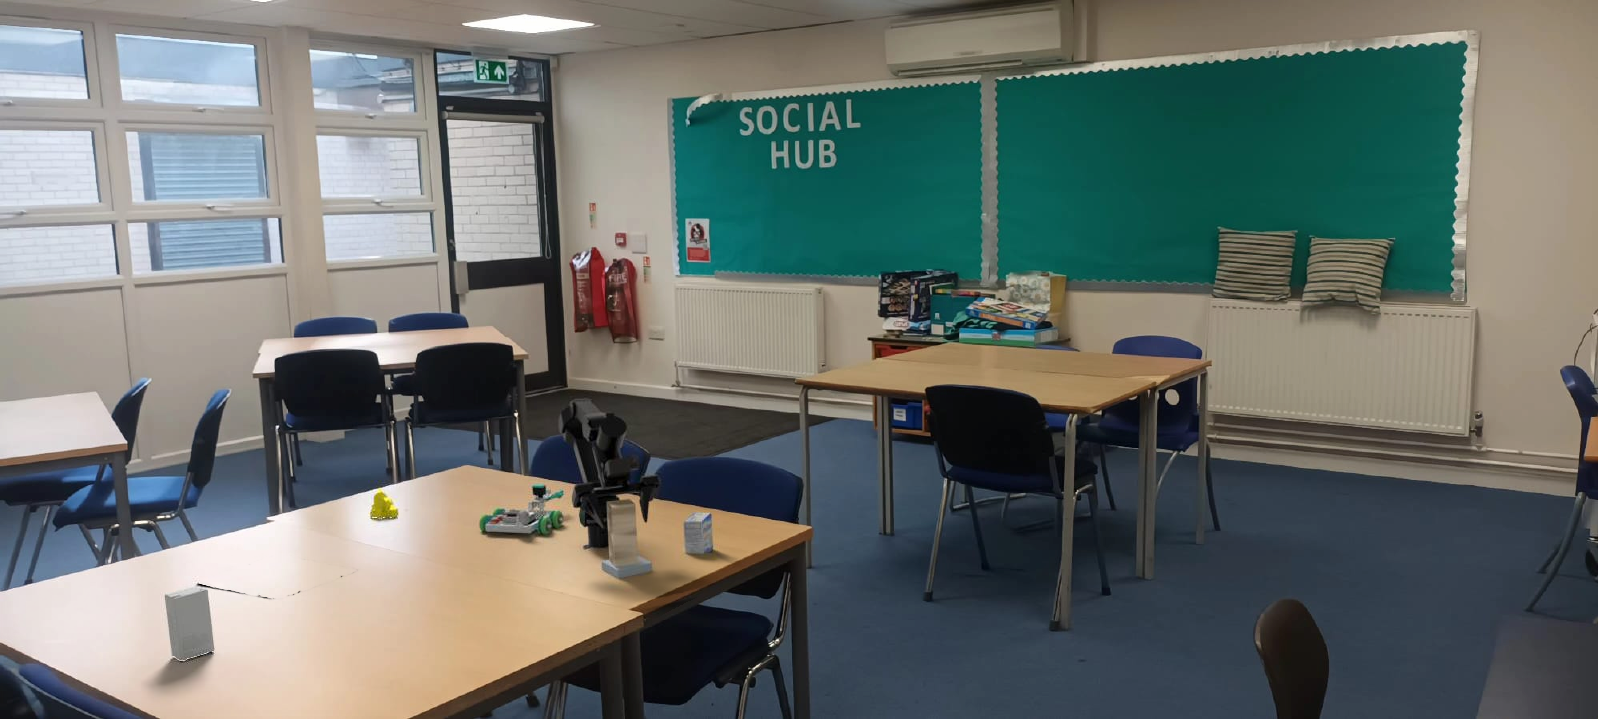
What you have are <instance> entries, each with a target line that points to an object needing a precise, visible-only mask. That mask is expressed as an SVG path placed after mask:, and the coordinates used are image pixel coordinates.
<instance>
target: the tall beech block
mask: <svg viewBox="0 0 1598 719" xmlns="http://www.w3.org/2000/svg"><path fill="white" fill-rule="evenodd" d="M636 510H637V508H636V503H635V502H633V500H632V499H630V498H627V499H626V498H624V499H620V500H617V501H609V502H607V520H608V541H609V547H608V556H609V559H608V560H609V561H610V562H611V563H612V564H613V565H614V566H615V567H619V566H625V565H632V564H638V556H639V553H638V552H639V550H638V532H637V529H638V528H637V511H636Z"/></svg>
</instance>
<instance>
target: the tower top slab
mask: <svg viewBox="0 0 1598 719" xmlns="http://www.w3.org/2000/svg"><path fill="white" fill-rule="evenodd" d="M601 569H602V570H603V571H604V572H606V573H607V574H609V575H611V576H612V577H614V578H616V579H622V578H626V577H632V576H635V575H640V574H645V573H649V572H652V571H653V562H651V561H650V560H648V559H646V558H643V557H641V556H640V555H638V564H632V565H625V566H619V567H615V566H614V565H613V564H612V563H611V562H610V561H609V559H606V560H602V561H601Z"/></svg>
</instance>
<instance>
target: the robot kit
mask: <svg viewBox="0 0 1598 719" xmlns="http://www.w3.org/2000/svg"><path fill="white" fill-rule="evenodd" d="M531 489H532V495H533V496H534V500H532V501H531V502H530V501H529V502H528V504H527V506H528V508H527V509H523V510H518V509H517V510H516V509H515V508H509V509H508V510H506V509H505V508H500V507H497V508H495V509H494V510H493V512H492V514H483V515H481V517H480V518H479V522H478V524H479V529H480V531H482V532H485V533H486V532H488V533H489V532H501V533H521V534H531V533H532V532H534V531H535V530H537V532H538V534H539V535H544V534H546V535H549V533H550V532H551V530H552V528H556V527H558V528H560V527H561V526H562V525H563V521H564V514H563V512H562V511H561V510H560V509H559V510H544V509H545V508H546V503H547V502H549V501H550V500H553V499H557V498H558V499H561V498H562V497H563V496H564V489H560V490H559V491H556V492H554V493H553V494H552V490H551V489H547V486H546V484H533V485H532V486H531ZM536 507H537V508H539V509H536V510H535V508H536ZM553 526H554V527H553ZM542 533H543V534H542Z"/></svg>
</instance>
